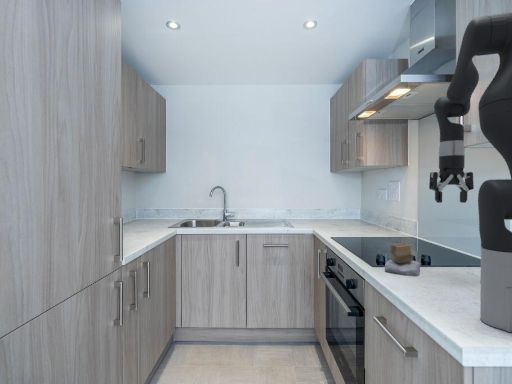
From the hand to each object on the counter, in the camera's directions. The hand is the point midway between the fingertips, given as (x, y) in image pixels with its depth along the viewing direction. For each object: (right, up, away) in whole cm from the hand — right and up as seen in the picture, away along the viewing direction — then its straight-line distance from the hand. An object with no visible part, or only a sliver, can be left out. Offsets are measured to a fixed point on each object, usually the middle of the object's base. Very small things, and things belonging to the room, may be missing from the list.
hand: (451, 202), depth 111 cm
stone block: (-13, -27, +9) cm, 31 cm away
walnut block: (-13, -22, +10) cm, 27 cm away
